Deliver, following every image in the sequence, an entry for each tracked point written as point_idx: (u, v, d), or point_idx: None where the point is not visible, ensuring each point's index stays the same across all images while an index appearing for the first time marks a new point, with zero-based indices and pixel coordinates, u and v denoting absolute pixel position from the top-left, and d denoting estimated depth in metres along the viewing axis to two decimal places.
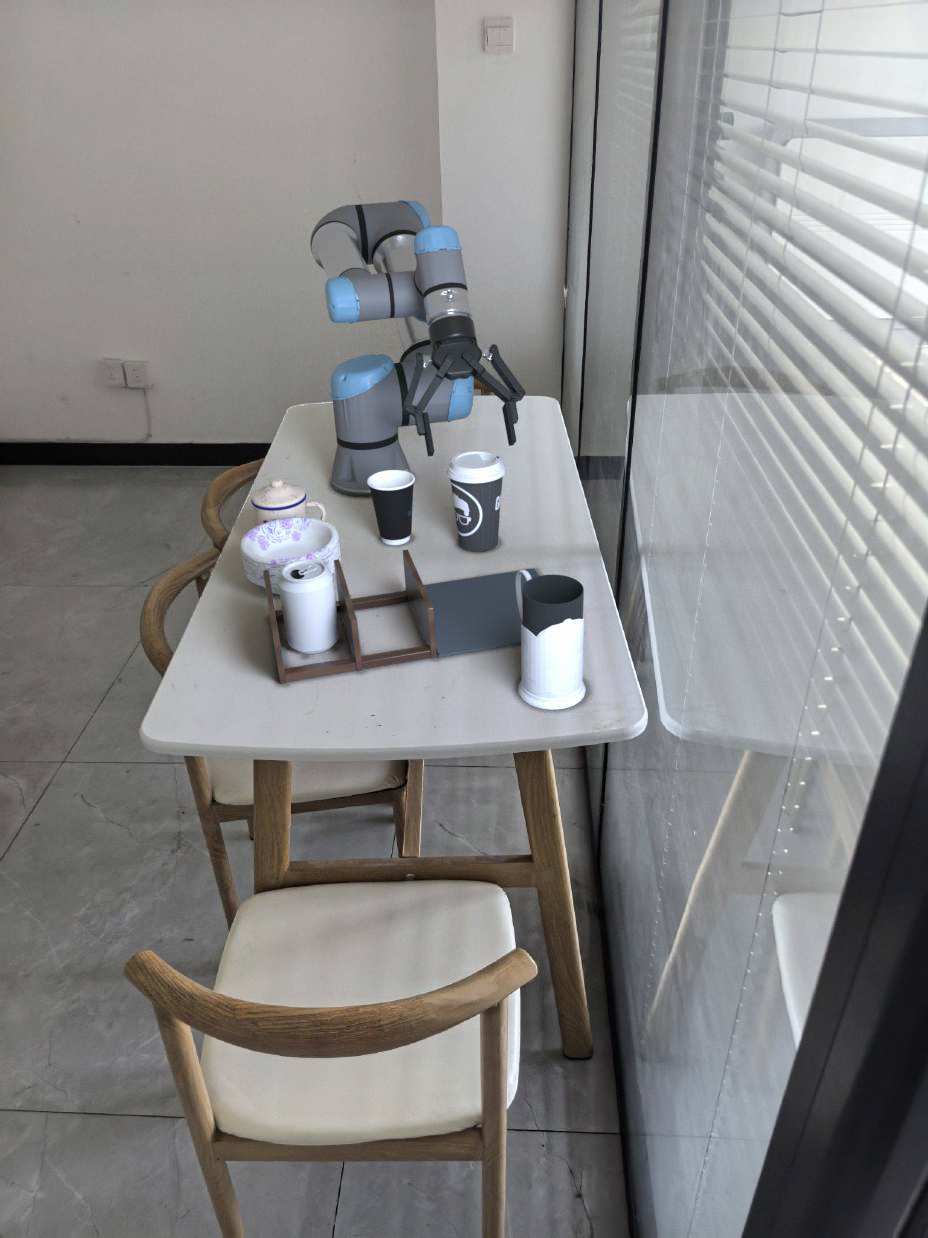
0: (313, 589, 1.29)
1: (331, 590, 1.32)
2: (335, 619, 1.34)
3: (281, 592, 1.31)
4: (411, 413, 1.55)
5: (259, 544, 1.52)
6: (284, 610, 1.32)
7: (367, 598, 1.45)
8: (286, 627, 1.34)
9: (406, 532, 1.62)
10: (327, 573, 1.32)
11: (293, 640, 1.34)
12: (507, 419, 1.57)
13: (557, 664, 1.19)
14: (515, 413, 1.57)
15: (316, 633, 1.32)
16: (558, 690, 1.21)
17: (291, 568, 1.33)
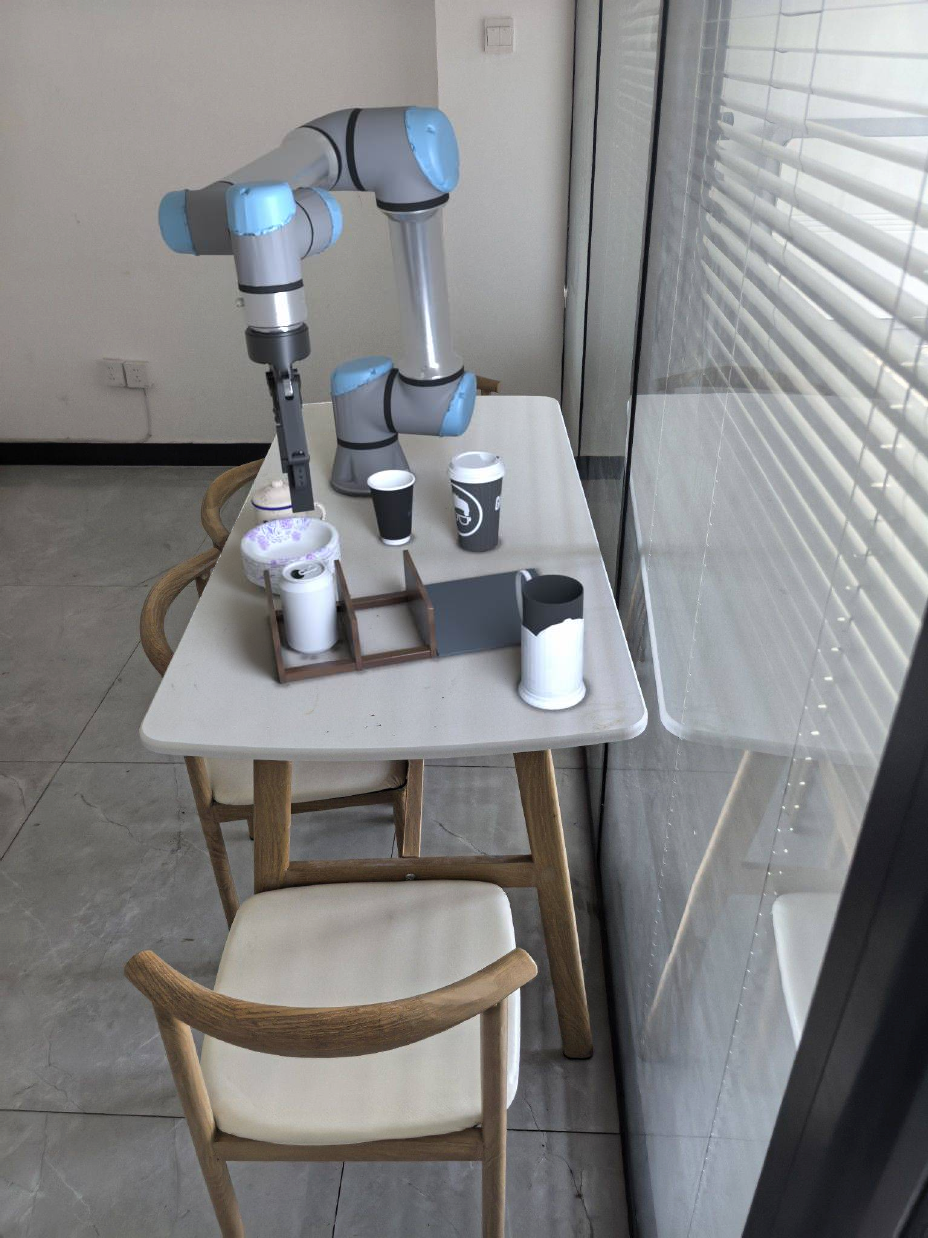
0: (313, 589, 1.29)
1: (331, 590, 1.32)
2: (335, 619, 1.34)
3: (281, 592, 1.31)
4: None
5: (259, 544, 1.52)
6: (284, 610, 1.32)
7: (367, 598, 1.45)
8: (286, 627, 1.34)
9: (406, 532, 1.62)
10: (327, 573, 1.32)
11: (293, 640, 1.34)
12: None
13: (557, 664, 1.19)
14: (294, 479, 1.16)
15: (316, 633, 1.32)
16: (558, 690, 1.21)
17: (291, 568, 1.33)
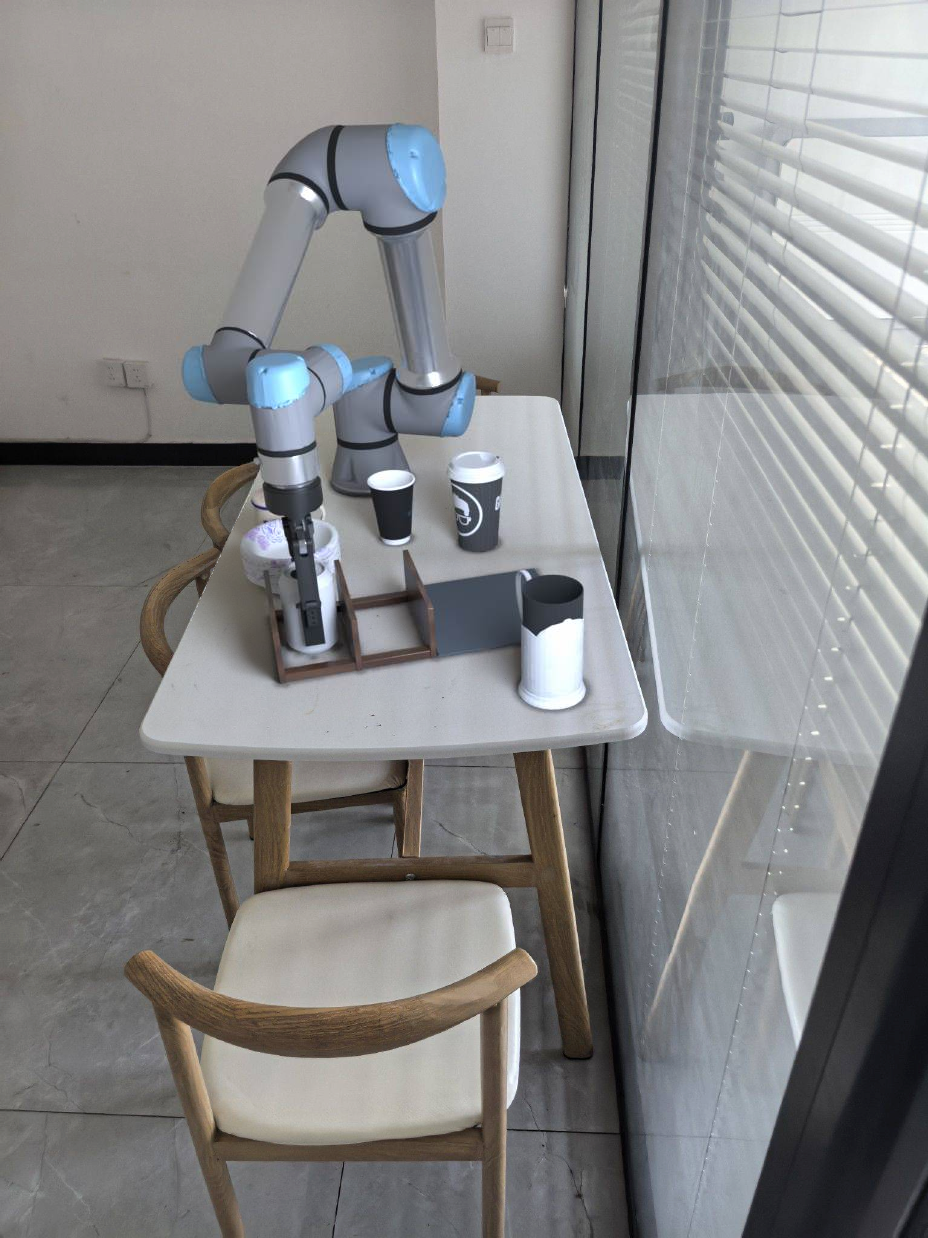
0: None
1: (331, 590, 1.32)
2: (335, 619, 1.34)
3: (281, 592, 1.31)
4: None
5: (259, 544, 1.52)
6: (284, 610, 1.32)
7: (367, 598, 1.45)
8: (286, 627, 1.34)
9: (406, 532, 1.62)
10: (327, 573, 1.32)
11: (293, 640, 1.34)
12: None
13: (557, 664, 1.19)
14: (307, 619, 1.29)
15: None
16: (558, 690, 1.21)
17: (291, 568, 1.33)
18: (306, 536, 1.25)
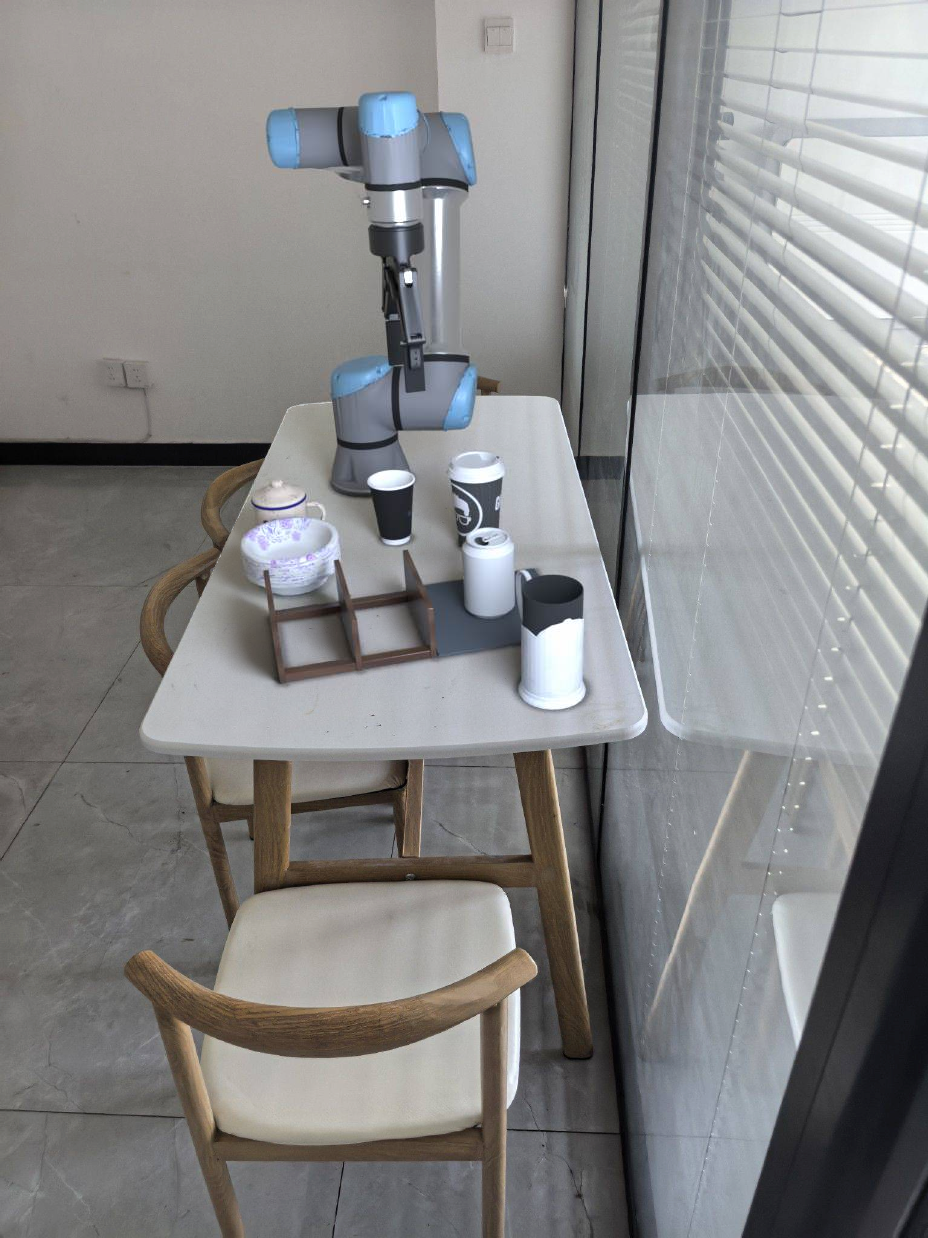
0: (499, 555, 1.35)
1: (513, 557, 1.37)
2: (514, 585, 1.40)
3: (466, 558, 1.36)
4: None
5: (259, 544, 1.52)
6: (467, 576, 1.38)
7: (367, 598, 1.45)
8: (467, 593, 1.39)
9: (406, 532, 1.62)
10: (509, 540, 1.37)
11: (474, 605, 1.39)
12: None
13: (557, 664, 1.19)
14: (410, 360, 1.32)
15: (498, 598, 1.38)
16: (558, 690, 1.21)
17: (473, 536, 1.38)
18: None
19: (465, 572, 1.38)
